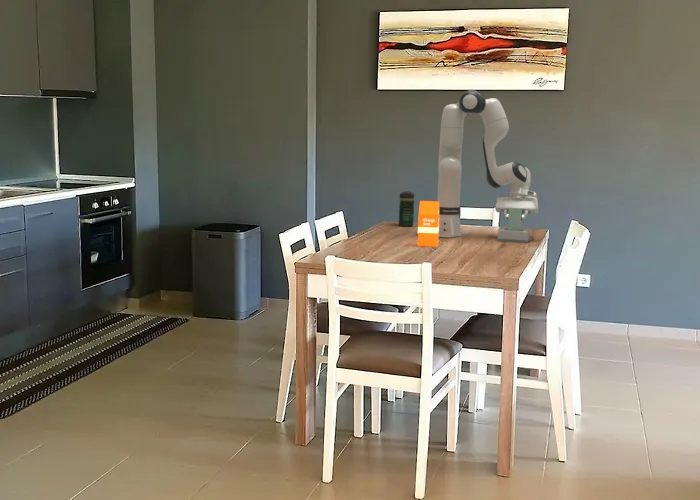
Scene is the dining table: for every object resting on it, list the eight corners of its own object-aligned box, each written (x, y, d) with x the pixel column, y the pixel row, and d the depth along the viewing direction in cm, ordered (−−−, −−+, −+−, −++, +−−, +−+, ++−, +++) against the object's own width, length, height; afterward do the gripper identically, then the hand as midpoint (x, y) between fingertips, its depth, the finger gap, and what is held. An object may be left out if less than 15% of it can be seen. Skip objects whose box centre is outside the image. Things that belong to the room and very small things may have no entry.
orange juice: (436, 246, 348) (438, 202, 345) (417, 245, 350) (418, 201, 347) (438, 243, 356) (439, 200, 352) (419, 242, 358) (420, 199, 354)
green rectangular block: (508, 230, 370) (509, 207, 368) (521, 230, 368) (522, 207, 366) (507, 231, 367) (508, 208, 365) (520, 231, 365) (521, 208, 363)
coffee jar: (413, 227, 410) (414, 192, 407) (398, 226, 411) (399, 191, 408) (413, 224, 419) (414, 190, 416) (399, 224, 420) (399, 190, 417)
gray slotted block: (497, 241, 366) (497, 230, 365) (500, 238, 375) (501, 227, 374) (527, 243, 361) (527, 232, 360) (529, 240, 370) (530, 229, 369)
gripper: (496, 191, 374) (492, 213, 367) (539, 192, 367) (536, 215, 360) (497, 199, 379) (493, 221, 372) (540, 201, 372) (536, 223, 365)
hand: (514, 218), depth 366 cm, fingers closed on green rectangular block, 6 cm apart
